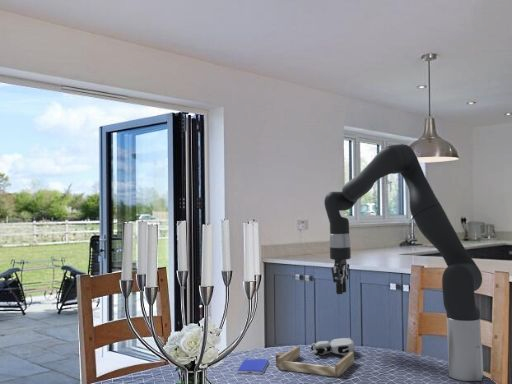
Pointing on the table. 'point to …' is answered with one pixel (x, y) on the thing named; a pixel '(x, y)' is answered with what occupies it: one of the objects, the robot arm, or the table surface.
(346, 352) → the robot toy
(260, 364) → the hard drive
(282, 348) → the table surface
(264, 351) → the table surface
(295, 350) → the wooden tray
